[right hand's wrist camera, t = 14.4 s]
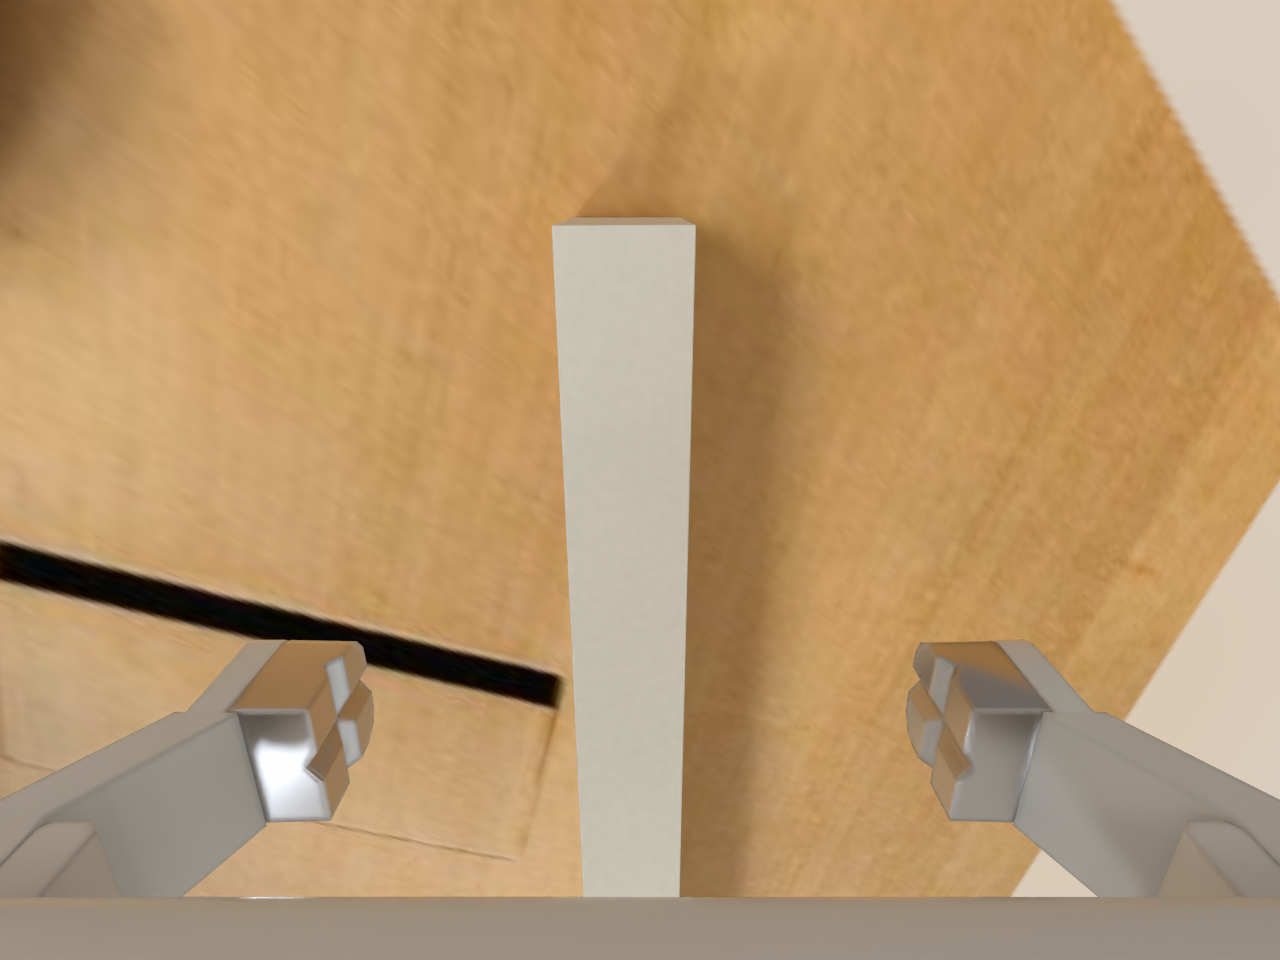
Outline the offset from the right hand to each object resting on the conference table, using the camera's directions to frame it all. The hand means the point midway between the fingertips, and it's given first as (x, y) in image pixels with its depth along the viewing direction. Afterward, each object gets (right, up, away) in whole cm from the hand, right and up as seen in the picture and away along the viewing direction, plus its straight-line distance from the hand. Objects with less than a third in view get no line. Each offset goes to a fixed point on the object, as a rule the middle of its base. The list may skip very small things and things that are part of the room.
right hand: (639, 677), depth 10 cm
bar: (0, -13, +32) cm, 35 cm away
